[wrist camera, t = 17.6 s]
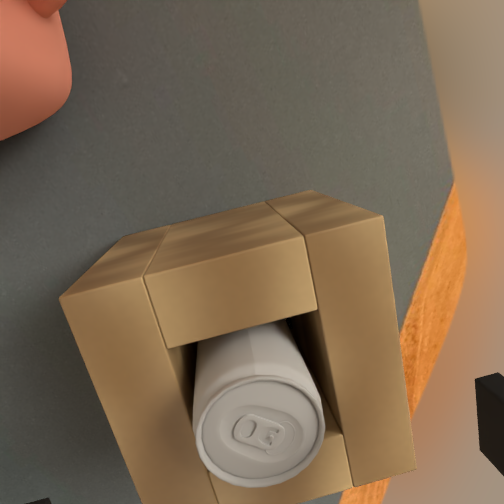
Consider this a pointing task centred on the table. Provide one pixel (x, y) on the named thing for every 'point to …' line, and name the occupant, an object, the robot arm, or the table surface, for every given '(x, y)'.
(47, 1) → the teapot
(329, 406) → the wooden box
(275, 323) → the beverage can
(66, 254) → the table surface
